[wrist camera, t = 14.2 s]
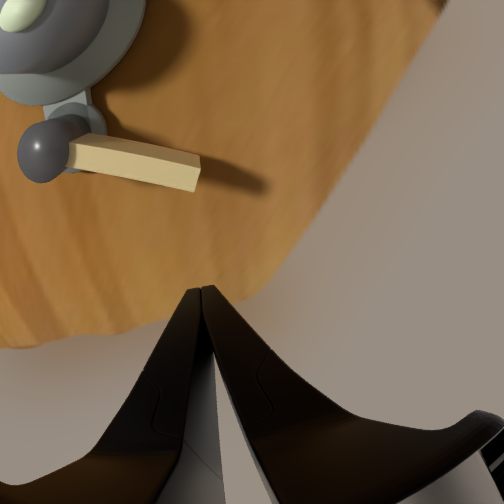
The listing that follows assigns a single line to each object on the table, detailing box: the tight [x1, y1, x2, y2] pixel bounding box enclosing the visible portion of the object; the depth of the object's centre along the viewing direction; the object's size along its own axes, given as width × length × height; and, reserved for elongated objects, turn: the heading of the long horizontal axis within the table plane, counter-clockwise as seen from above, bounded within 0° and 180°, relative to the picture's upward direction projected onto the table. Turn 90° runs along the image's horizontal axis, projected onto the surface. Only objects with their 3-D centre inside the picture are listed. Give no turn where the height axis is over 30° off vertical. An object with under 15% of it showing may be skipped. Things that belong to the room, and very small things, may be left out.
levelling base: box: [0, 0, 146, 173], centre depth 9 cm, size 18×16×6 cm
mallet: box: [17, 114, 201, 192], centre depth 13 cm, size 10×3×4 cm, turn 71°
